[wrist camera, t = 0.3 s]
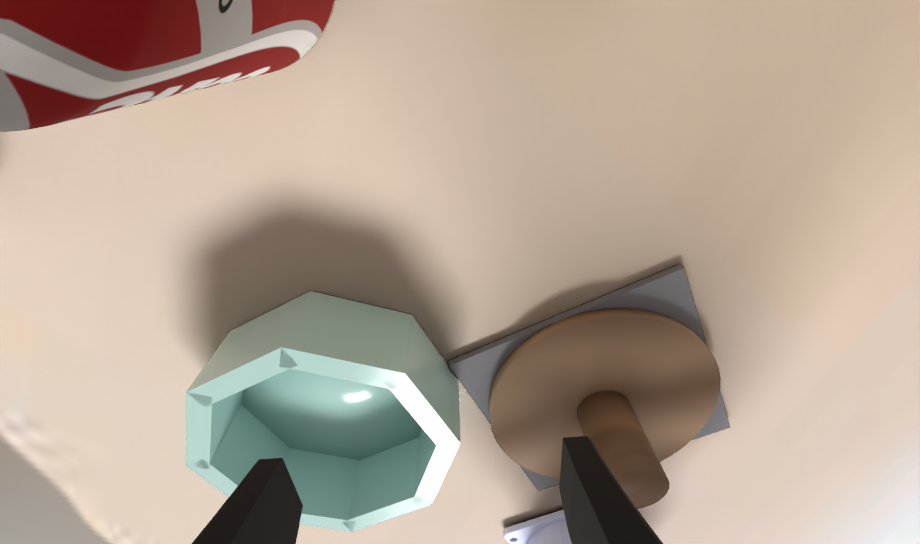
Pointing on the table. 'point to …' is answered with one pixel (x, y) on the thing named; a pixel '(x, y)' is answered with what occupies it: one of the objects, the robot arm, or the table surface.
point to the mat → (652, 293)
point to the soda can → (140, 51)
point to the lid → (606, 395)
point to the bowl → (328, 410)
